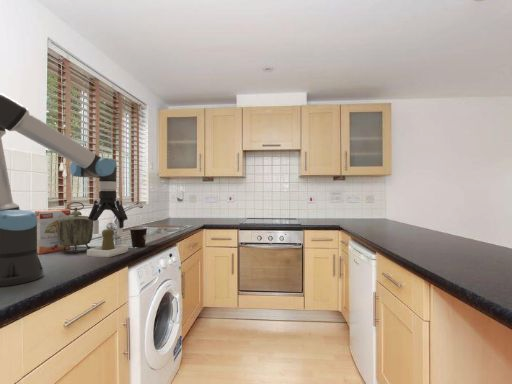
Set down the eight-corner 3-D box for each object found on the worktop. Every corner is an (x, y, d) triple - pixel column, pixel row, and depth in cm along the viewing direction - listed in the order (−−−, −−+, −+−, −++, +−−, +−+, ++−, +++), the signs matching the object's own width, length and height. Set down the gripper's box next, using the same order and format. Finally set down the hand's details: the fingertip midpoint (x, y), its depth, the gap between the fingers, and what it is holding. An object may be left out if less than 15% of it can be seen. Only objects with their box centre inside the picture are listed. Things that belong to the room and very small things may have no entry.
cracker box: (39, 254, 133) (39, 211, 133) (33, 253, 136) (33, 210, 136) (71, 249, 145) (70, 209, 145) (65, 248, 148) (64, 209, 148)
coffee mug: (139, 244, 157) (139, 227, 157) (150, 245, 153) (150, 227, 153) (121, 248, 147) (121, 229, 147) (133, 249, 143) (132, 230, 143)
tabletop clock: (93, 248, 146) (92, 201, 146) (92, 252, 138) (92, 202, 138) (59, 251, 139) (59, 202, 139) (56, 255, 131) (56, 202, 131)
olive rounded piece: (109, 253, 131) (109, 230, 131) (98, 253, 132) (97, 230, 132) (117, 251, 137) (117, 228, 137) (107, 250, 138) (107, 228, 138)
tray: (108, 257, 127) (108, 250, 127) (86, 256, 129) (86, 249, 129) (128, 251, 139) (128, 245, 139) (107, 250, 142) (107, 244, 142)
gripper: (135, 190, 135) (135, 234, 135) (92, 190, 141) (92, 232, 141) (124, 190, 128) (124, 236, 128) (80, 190, 134) (79, 234, 133)
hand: (107, 234), depth 134 cm, fingers open, 13 cm apart
